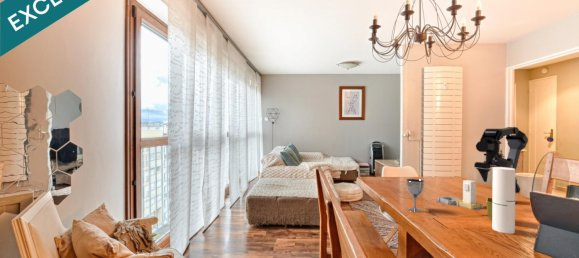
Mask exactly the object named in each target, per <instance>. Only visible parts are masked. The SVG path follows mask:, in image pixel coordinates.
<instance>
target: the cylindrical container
mask: <svg viewBox="0 0 579 258" xmlns="http://www.w3.org/2000/svg"><path fill="white" fill-rule="evenodd" d="M515 177H516V172H515V169H513V168H506V167H492V197H491V198H492V221H491V223H492V224H491V225H492V226H491V227H492V230H494V231H495V232H497V233H498V232H499V233H502V234H508V235H509V234H515V233H516V203H515V201H516V193H515Z"/></svg>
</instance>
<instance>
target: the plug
mask: <svg viewBox="0 0 579 258" xmlns="http://www.w3.org/2000/svg"><path fill="white" fill-rule="evenodd" d="M462 200H463V202H464V203H468V204H476V202H477V181H476V180H470V179H466V180H462Z"/></svg>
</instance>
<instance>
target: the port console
mask: <svg viewBox="0 0 579 258" xmlns="http://www.w3.org/2000/svg"><path fill="white" fill-rule="evenodd" d="M435 203H439V204H443V205H448V206H453V207H458V208H463V209H468V210H474V211H481V210H482V209H484V208H485V207H486V208H487V205H486V206H485V205H483V202H479V201H478V202H477V201H476V204H468V203H464V202H463V199H459V198H457V197H456V198H455V197H454V196H437V201H435Z"/></svg>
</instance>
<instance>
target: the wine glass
mask: <svg viewBox="0 0 579 258" xmlns="http://www.w3.org/2000/svg"><path fill="white" fill-rule="evenodd" d="M424 186H425V181H424V180H423V179H420V178H407V179H406V189H407V192H408V193H409V194H410V196H412V199H413V207H409V208H407V211H409V212H412V213H423V212H424V210H423V209H420V208H417V200H418V197H419V196H420V195H421V194H422V193H423V192H424Z"/></svg>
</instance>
